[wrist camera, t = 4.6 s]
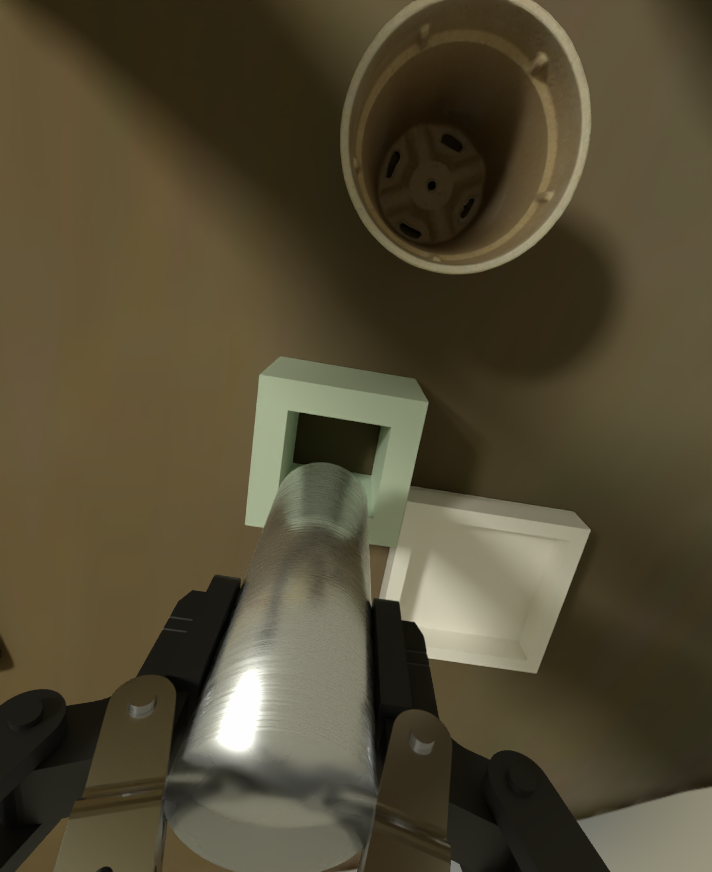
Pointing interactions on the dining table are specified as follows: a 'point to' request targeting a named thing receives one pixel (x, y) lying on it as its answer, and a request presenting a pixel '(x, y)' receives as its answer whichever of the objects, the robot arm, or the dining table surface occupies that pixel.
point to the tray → (483, 575)
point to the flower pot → (465, 131)
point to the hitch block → (344, 399)
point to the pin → (288, 695)
